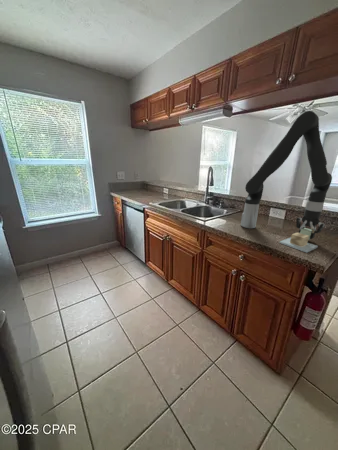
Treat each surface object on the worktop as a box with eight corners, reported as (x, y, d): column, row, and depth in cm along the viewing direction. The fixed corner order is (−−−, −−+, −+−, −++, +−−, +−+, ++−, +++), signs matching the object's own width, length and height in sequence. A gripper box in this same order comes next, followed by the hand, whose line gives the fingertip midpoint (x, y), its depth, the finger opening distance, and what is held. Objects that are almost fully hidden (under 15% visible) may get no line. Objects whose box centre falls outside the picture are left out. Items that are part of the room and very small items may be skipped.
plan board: (279, 242, 106) (279, 241, 106) (290, 238, 112) (290, 237, 112) (306, 252, 95) (307, 250, 95) (317, 247, 101) (317, 245, 101)
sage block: (298, 237, 110) (300, 229, 109) (302, 235, 113) (304, 227, 111) (308, 240, 106) (310, 232, 105) (312, 238, 109) (314, 230, 107)
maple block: (289, 242, 104) (291, 234, 103) (295, 240, 107) (297, 232, 106) (301, 246, 100) (303, 237, 98) (306, 244, 103) (309, 235, 101)
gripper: (296, 207, 108) (289, 234, 113) (326, 213, 96) (316, 242, 102) (302, 205, 112) (295, 232, 117) (332, 211, 100) (322, 240, 106)
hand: (305, 236), depth 110 cm, fingers closed on sage block, 5 cm apart
